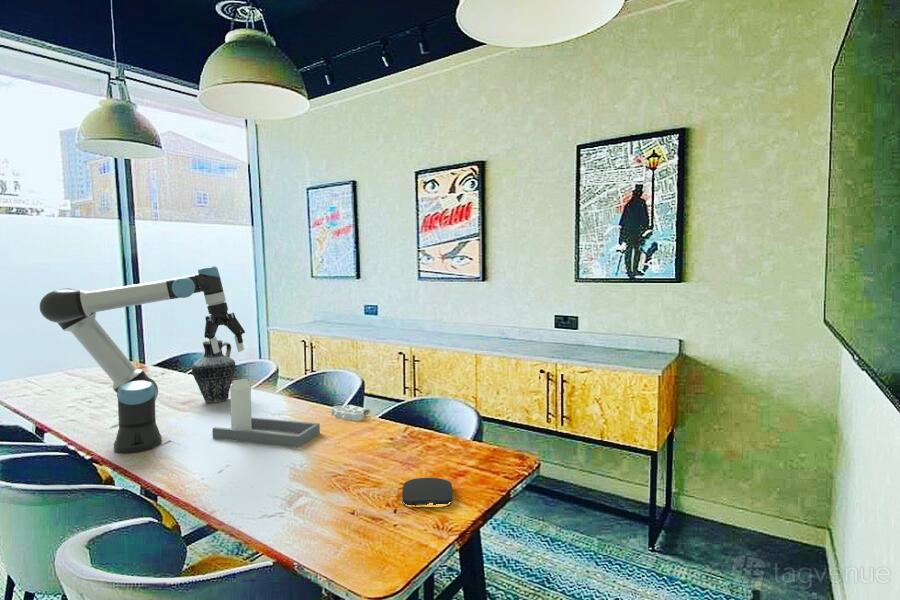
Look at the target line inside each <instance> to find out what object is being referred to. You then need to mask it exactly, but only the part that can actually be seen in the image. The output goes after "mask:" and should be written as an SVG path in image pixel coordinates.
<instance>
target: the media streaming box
mask: <svg viewBox="0 0 900 600" xmlns="http://www.w3.org/2000/svg"><path fill="white" fill-rule="evenodd" d="M451 501H452V502H453V485H452V482H451V481H449V480H447V479H445V478H444V479H443V478H439V477H438V478H437V477H417V478H412V479H409V480H407V481H405V482H403V486H402V503H403V502H404V503H405V504H407V505H415V506H416V505H427V504H429V503H433V505H436V504H448V503H449V502H451Z"/></svg>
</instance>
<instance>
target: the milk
mask: <svg viewBox="0 0 900 600" xmlns="http://www.w3.org/2000/svg"><path fill="white" fill-rule="evenodd" d="M229 393H230V429H240V430H250V431H253V430H252V429H253V428H252V427H251V417H252V389H251V385H250V384H249V378H243V379H242V378H241V379H235V380H232V385H231V386H230V390H229Z"/></svg>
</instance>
